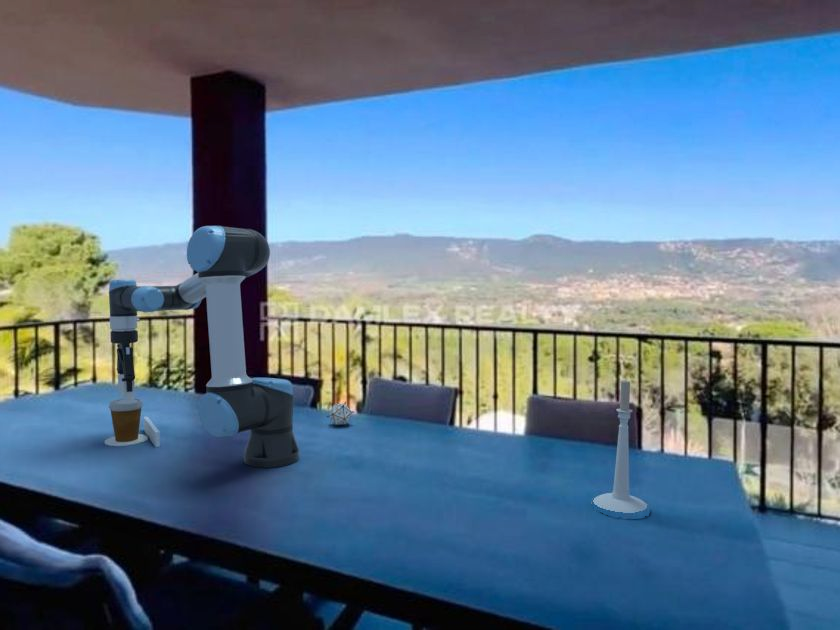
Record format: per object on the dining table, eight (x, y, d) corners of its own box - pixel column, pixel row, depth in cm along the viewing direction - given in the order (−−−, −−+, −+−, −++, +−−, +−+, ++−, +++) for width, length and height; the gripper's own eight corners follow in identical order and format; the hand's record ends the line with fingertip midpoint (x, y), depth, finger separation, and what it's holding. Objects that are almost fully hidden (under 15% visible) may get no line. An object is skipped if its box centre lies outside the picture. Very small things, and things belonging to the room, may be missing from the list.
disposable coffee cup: (118, 445, 177) (118, 406, 176) (103, 439, 182) (102, 401, 181) (149, 438, 184) (148, 400, 183) (134, 433, 190) (133, 396, 189)
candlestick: (604, 493, 145) (608, 372, 142) (658, 507, 136) (663, 379, 134) (582, 509, 135) (586, 379, 132) (638, 525, 127) (644, 386, 124)
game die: (344, 437, 204) (351, 418, 198) (321, 427, 204) (327, 408, 198) (352, 419, 211) (359, 400, 206) (330, 410, 211) (336, 391, 205)
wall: (160, 446, 178) (159, 431, 177) (155, 447, 177) (155, 432, 177) (147, 429, 196) (147, 416, 195) (143, 430, 195) (143, 416, 195)
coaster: (150, 442, 182) (150, 441, 182) (106, 448, 175) (106, 447, 175) (144, 433, 192) (144, 432, 192) (102, 438, 185) (102, 437, 185)
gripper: (144, 332, 173) (146, 404, 174) (131, 326, 193) (133, 390, 195) (115, 333, 168) (117, 407, 170) (105, 327, 189) (107, 392, 190)
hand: (126, 398), depth 182 cm, fingers open, 13 cm apart
